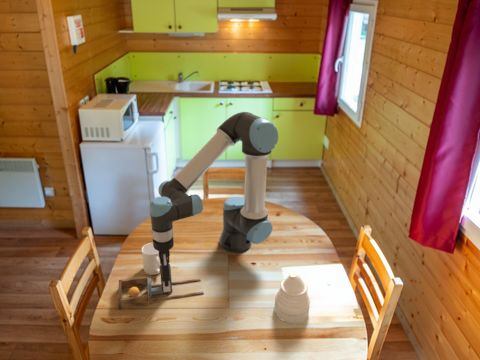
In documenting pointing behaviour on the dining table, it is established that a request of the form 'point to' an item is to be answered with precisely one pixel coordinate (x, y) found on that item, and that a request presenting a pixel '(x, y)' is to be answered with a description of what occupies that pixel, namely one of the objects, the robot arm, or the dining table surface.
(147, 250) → the mug
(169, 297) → the lane
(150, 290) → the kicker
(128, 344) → the dining table surface
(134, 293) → the ball
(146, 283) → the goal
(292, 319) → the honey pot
